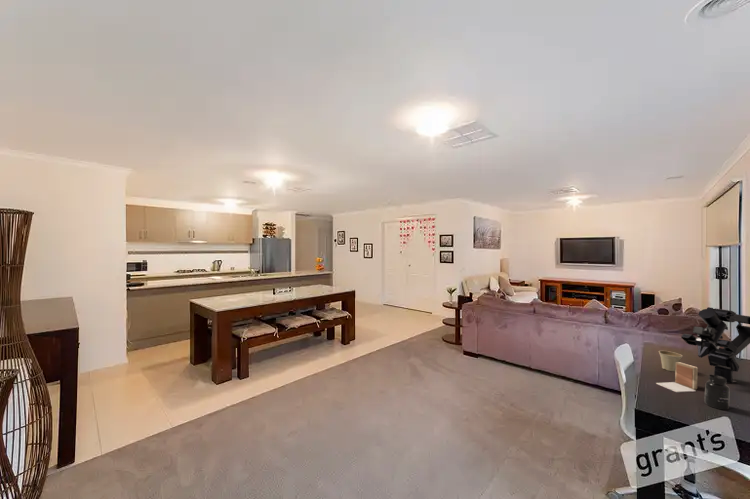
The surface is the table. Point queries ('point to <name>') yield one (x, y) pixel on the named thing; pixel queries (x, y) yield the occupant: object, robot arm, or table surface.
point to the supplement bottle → (717, 392)
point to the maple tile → (686, 375)
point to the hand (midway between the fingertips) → (699, 356)
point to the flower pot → (669, 360)
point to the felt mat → (676, 387)
